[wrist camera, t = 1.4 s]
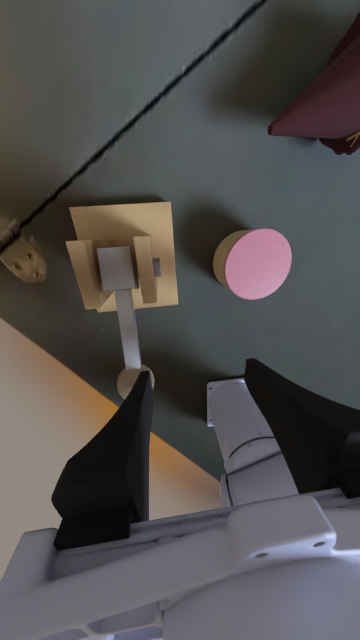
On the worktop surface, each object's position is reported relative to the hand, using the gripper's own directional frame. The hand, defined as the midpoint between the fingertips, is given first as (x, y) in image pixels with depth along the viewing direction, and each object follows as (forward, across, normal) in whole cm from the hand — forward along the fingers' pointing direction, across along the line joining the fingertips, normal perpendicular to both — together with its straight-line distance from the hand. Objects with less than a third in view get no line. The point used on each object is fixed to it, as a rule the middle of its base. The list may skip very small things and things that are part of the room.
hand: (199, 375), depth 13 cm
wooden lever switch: (+10, +5, -7) cm, 14 cm away
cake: (+10, -7, -6) cm, 14 cm away
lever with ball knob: (+4, +5, -3) cm, 7 cm away
